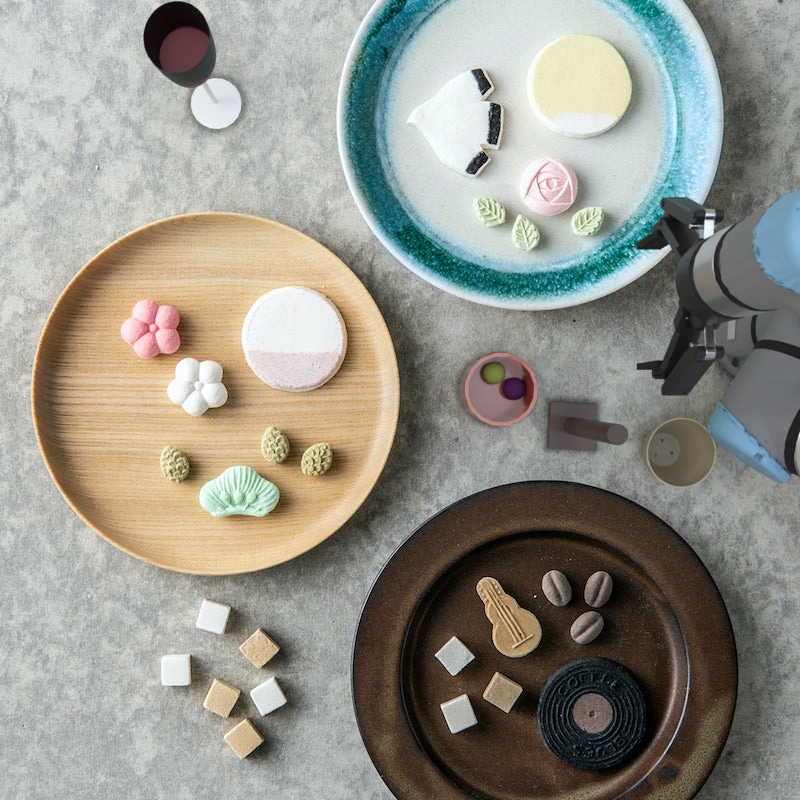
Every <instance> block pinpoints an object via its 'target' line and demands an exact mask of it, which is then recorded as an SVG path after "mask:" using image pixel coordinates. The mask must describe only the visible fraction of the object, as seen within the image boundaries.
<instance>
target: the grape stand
mask: <svg viewBox="0 0 800 800" xmlns="http://www.w3.org/2000/svg"><path fill="white" fill-rule="evenodd" d="M597 414H598V403H591V402H568V401H567V402H565V401H548V421H547V443H546V445H547V446H546V447H547V449H551V450H577V451H596V442H601V443H604V444H608V445H612V446H622V445H624V444H625V443H626V442H627V441H628V439H629V431H628V429H627V427H626V426H625V425H623V424H622V423H615V422H608V421H602V420H597Z"/></svg>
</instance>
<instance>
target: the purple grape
mask: <svg viewBox="0 0 800 800" xmlns="http://www.w3.org/2000/svg"><path fill="white" fill-rule="evenodd" d="M525 392H526V386H525V383H524V382H523V381H522V380H521V379H519V378H516V377H512V378H509V379H507V380H506V381H505V382H504V384H503V393H504V395H505V397H506V398H508V399H510V400H519V399H521V398H522V397H523V396H524V394H525Z"/></svg>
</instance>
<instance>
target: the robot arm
mask: <svg viewBox="0 0 800 800" xmlns="http://www.w3.org/2000/svg"><path fill="white" fill-rule="evenodd" d="M660 209H661V210H662V211H664V212H663V215H662V216H660V217H659V219H658V220H657V222H655V223H654V224H653V226H652V227H651V228H652V230H651V231H652V232H650V233H649V234H648V235H647V236H645V237H643V238H641V239H640V240H639V241H637V242H636V245H635V246H636V250H637V251H656V250H657V251H658V250H659V251H661V250H663V249H665V248H666V247H668V246H669V247H670V248H671V250H672V252H673V253H674V254H673V258H672V261H673V262H674V264H675V266H676V271H675V278H674V281H675V282H674V283H675V289H676V294H677V296H678V307H677V311H676V313H675V315H674V318H673V321H672V323H673V326H674V331H673V333H672V336H671V338H670V340H669V344H668V346H667V349H666V351H665V354H664V356H663V358H662V359H656V360H650V361H644V362H637V363H636V371H651V377H652V379H654V380H663V383H662V385H661V387H660V393H661V395H662V396H663V397H669V396H670V397H684V396H685V397H688V396H689V395H690V393H691V392H692V391H693V389H694V388H695V387H696V386H697V384H698V383H699V382H700V380H701V379H702V378H703V377H704V376H705V374H706V373H707V371H709V369H710V368H711V367H712V365H713V364H714V363H715V362H717V361H718V363H719V364H720V366H721V367H722V368H723V369H724V370H725V371H726V372H727V373H728V374H729V375H731V376H732V377H734V378H733V380H732V382H731V383H730V385H729V386H728V388H727V390H726V391H725V393H724V394H723V396H722V397H721V399H719V400H718V401H717V402H716V404H717V406H716V408H715V409H714V411H713V413H712V415H711V417H710V419H708V422H707V429H708V432H709V434H710V436H711V437H712V438H713V439H714V441H715V443H717V444H718V445H719V446H720V447H721V448H723V449H725V451H727V452H728V453H729V454H730V455H732V456H733V457H735V458H736V459H738V460H739V461H741V462H742V463H743V464H745V465H746V466H748V467H749V468H751V469H752V470H754V471H755V472H758V473H759V474H761V475H762V476H764V477H766V478H768V479H769V480H771V481H772V482H773V481H774V482H776V483H778V484H786V483H788V481H790V480H792V478H793V477H792V476H793V475H794V476H797V477H799V478H800V187H798V188H797V189H794V190H790V191H789V192H787V193H784V194H782V195H780V196H778V197H777V198H776V199H775V200H774V201H772V202H770V203H769V204H768V205H766V206H764V207H762V208H761V209H758V210H756V211H755V212H753V213H751V214H750V215H748V216H746V217H745V218H743V219H741V220H739V221H737V222H735V223H733V224H730V225H728V226H727V227H724V228H723V229H720V230H718V231H717V232H715V230H716V229H717V228H718V224H721V223H722V222H723V220H724V218H725V211H724V209H723V208H709V207H706V206H705V205H703V204H701V203H699V202H697V201H695V200H694V199H692V198H690V197H688V196H667V197H665V196H664V197H661V200H660Z"/></svg>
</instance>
